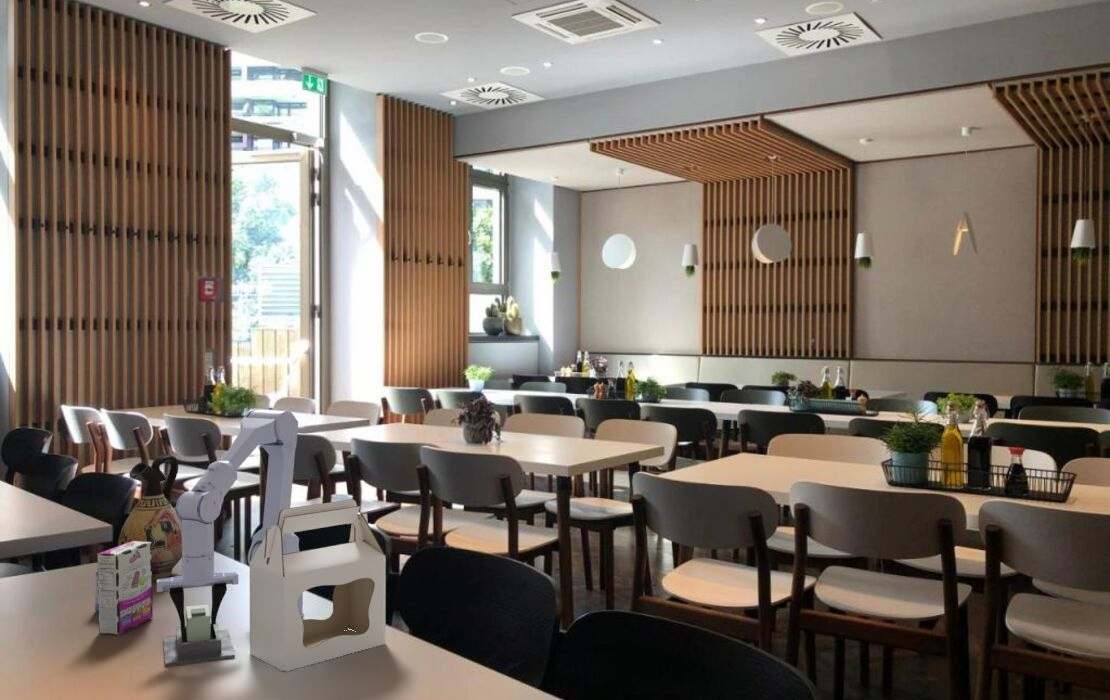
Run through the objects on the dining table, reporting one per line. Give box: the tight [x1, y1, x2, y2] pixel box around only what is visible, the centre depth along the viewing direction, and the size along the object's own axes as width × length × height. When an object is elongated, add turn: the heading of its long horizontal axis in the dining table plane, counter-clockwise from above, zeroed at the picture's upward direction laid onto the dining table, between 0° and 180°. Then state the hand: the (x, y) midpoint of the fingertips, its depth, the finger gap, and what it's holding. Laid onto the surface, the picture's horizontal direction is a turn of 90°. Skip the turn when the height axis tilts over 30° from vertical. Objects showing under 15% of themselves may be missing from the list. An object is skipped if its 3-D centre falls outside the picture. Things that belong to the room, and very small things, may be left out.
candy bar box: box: [96, 541, 154, 636], centre depth 192 cm, size 11×5×16 cm, turn 168°
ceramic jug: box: [117, 454, 182, 581], centre depth 231 cm, size 17×15×30 cm
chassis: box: [163, 621, 236, 668], centre depth 179 cm, size 12×16×3 cm
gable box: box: [249, 499, 387, 673], centre depth 179 cm, size 22×13×28 cm, turn 135°
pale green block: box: [185, 604, 211, 643], centre depth 180 cm, size 4×8×6 cm, turn 24°
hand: (198, 624), depth 179 cm, fingers open, 5 cm apart
